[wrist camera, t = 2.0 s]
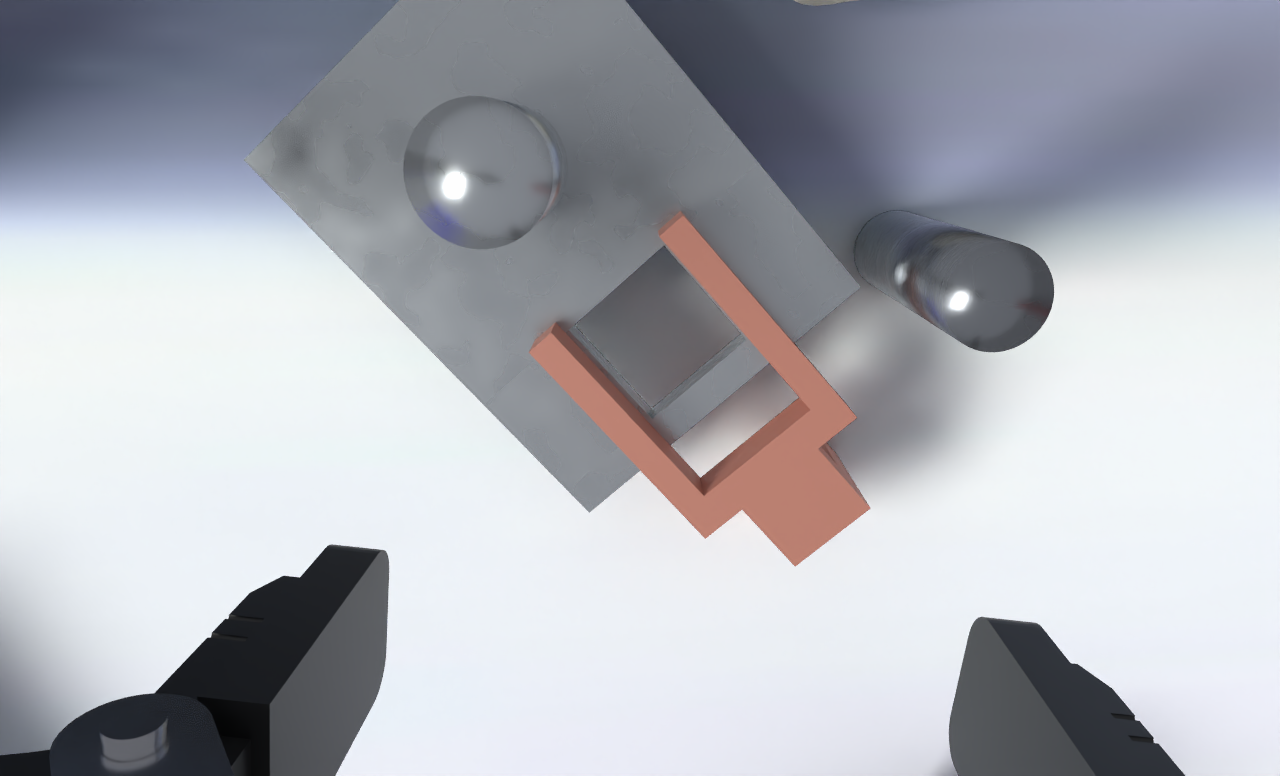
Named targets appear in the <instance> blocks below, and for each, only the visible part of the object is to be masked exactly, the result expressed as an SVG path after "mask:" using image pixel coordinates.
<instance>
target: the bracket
mask: <svg viewBox="0 0 1280 776" xmlns="http://www.w3.org/2000/svg"><path fill="white" fill-rule="evenodd" d="M658 234H659V237H660V238H661V239H662V240H663V242H664V243H665V244H666V245H667V246H668V247H669V248H670V250H671V251H672V252H673V253H674V254H675V255H676V256H677V258H678V259H679V260H680V261H681V262H682V263H683V264H684V266H685V267H686V268H687V269H688V270H689V271H690V272H691V274H692V275H693V276H694V277H695V278H696V279H697V281H698V282H699V283H700V284H701V285H702V286H703V287H704V289H705V290H706V291H707V292H708V293H709V294H710V295H711V297H712V298H713V299H714V300H715V301H716V302H717V303H718V305H719V306H720V307H721V308H722V309H723V310H724V311H725V313H726V314H727V315H728V316H729V317H730V318H731V319H732V321H733V322H734V323H735V324H736V325H737V326H738V328H739V329H740V330H741V331H742V332H743V333H744V334H745V336H746V337H747V338H748V339H749V340H750V341H751V342H752V344H753V345H754V346H755V347H756V348H757V349H758V350H759V352H760V353H761V354H762V355H763V356H764V357H765V358H766V360H767V361H768V362H769V363H770V364H771V365H772V366H773V368H774V369H775V370H776V371H777V372H778V373H779V374H780V376H781V377H782V378H783V379H784V380H785V381H786V383H787V384H788V385H789V386H790V387H791V388H792V389H793V391H794V392H795V393H796V394H797V395H798V396H799V398H798V399H797V400H796V401H794V402H793V403H792V404H791V405H789V406H788V407H787V408H786V409H785V410H783V411H782V412H781V413H780V414H778V415H777V416H776V417H775V418H773V419H772V420H771V421H770V422H769V423H767V424H766V425H765V426H764V427H762V428H761V429H760V430H759V431H757V432H756V433H755V434H754V435H753V436H751V437H750V438H749V439H748V440H746V441H745V442H744V443H743V444H742V445H740V446H739V447H738V448H737V449H735V450H734V451H733V452H732V453H730V454H729V455H728V456H727V457H726V458H724V459H723V460H722V461H721V462H719V463H718V464H717V465H716V466H714V467H713V468H712V469H711V470H710V471H708V472H707V473H706V474H705V475H703V476H702V477H701V478H700V477H699V476H698V475H697V474H696V473H695V471H694V470H693V469H692V468H691V467H690V466H689V465H688V464H687V463H686V462H685V461H684V460H683V459H682V458H681V456H680V455H679V454H678V453H677V452H676V451H675V450H674V449H673V448H672V447H671V446H670V445H669V444H668V442H667V441H666V440H665V439H664V438H663V437H662V436H661V435H660V434H659V433H658V432H657V431H656V430H655V428H654V427H653V426H652V425H651V424H650V423H649V422H648V421H647V420H646V419H645V418H644V417H643V416H642V415H641V413H640V412H639V411H638V410H637V409H636V408H635V407H634V406H633V405H632V404H631V403H630V402H629V401H628V399H627V398H626V397H625V396H624V395H623V394H622V393H621V392H620V391H619V390H618V389H617V388H616V387H615V386H614V384H613V383H612V382H611V381H610V380H609V379H608V378H607V377H606V376H605V375H604V374H603V373H602V372H601V370H600V369H599V368H598V367H597V366H596V365H595V364H594V363H593V362H592V361H591V360H590V359H589V358H588V356H587V355H586V354H585V353H584V352H583V351H582V350H581V349H580V348H579V347H578V346H577V345H576V344H575V343H574V341H573V340H572V339H571V338H570V337H569V336H568V335H567V334H566V333H565V332H564V331H563V330H562V329H561V327H560V326H559V325H558V324H557V323H556V322H555V323H554V324H553V325H552V326H551V327H549V328H548V329H547V330H546V331H545V332H544V333H543V334H542V335H540V336H539V337H538V338H537V339H536V340H535V341H534V343H533V345H532V347H531V349H530V351H529V353H530V354H531V356H532V357H533V358H534V359H535V360H536V361H537V362H538V363H539V364H540V365H541V366H542V367H543V368H544V369H545V370H546V371H547V372H548V373H549V374H550V376H551V377H552V378H553V379H554V380H555V381H556V382H557V383H558V384H559V385H560V386H561V387H562V388H563V389H564V390H565V391H566V392H567V393H568V395H569V396H570V397H571V398H572V399H573V400H574V401H575V402H576V403H577V404H578V405H579V406H580V407H581V408H582V409H583V410H584V411H585V412H586V413H587V415H588V416H589V417H590V418H591V419H592V420H593V421H594V422H595V423H596V424H597V425H598V426H599V427H600V428H601V429H602V430H603V431H604V432H605V434H606V435H607V436H608V437H609V438H610V439H611V440H612V441H613V442H614V443H615V444H616V445H617V446H618V447H619V448H620V449H621V450H622V451H623V452H624V454H625V455H626V456H627V457H628V458H629V459H630V460H631V461H632V462H633V463H634V464H635V465H636V466H637V467H638V468H639V469H640V470H641V471H642V473H643V474H644V475H645V476H646V477H647V478H648V479H649V480H650V481H651V482H652V483H653V484H654V485H655V486H656V487H657V488H658V489H659V490H660V491H661V493H662V494H663V495H664V496H665V497H666V498H667V499H668V500H669V501H670V502H671V503H672V504H673V505H674V506H675V507H676V508H677V509H678V510H679V512H680V513H681V514H682V515H683V516H684V517H685V518H686V519H687V520H688V521H689V522H690V523H691V524H692V525H693V526H694V527H695V528H696V529H697V530H698V532H699V533H700V534H701V535H702V536H703V537H704V538H705V539H706V538H707V537H708V536H709V535H711V534H712V533H713V532H714V531H716V530H717V529H718V528H719V527H721V526H722V525H723V524H724V523H726V522H727V521H728V520H729V519H731V518H732V517H733V516H734V515H736V514H737V513H738V512H739V511H741V510H743V511H744V512H745V513H746V514H747V515H748V516H749V517H750V518H751V519H752V521H753V522H754V523H755V524H756V525H757V526H758V527H759V528H760V529H761V530H762V531H763V532H764V534H765V535H766V536H767V537H768V538H769V539H770V540H771V541H772V542H773V543H774V544H775V545H776V546H777V548H778V549H779V550H780V551H781V552H782V553H783V554H784V555H785V556H786V557H787V558H788V559H789V560H790V562H791V563H792V564H793V565H794V566H796V565H798V564H799V563H800V562H802V561H803V560H804V559H805V558H807V557H808V556H809V555H811V554H812V553H813V552H815V551H816V550H817V549H818V548H820V547H821V546H822V545H824V544H825V543H826V542H828V541H829V540H830V539H831V538H833V537H834V536H835V535H837V534H838V533H839V532H840V531H842V530H843V529H844V528H846V527H847V526H848V525H850V524H851V523H852V522H853V521H855V520H856V519H857V518H859V517H860V516H861V515H863V514H864V513H865V512H866V511H868V510H869V509H870V507H869V505H868V504H867V502H866V500H865V499H864V497H863V496H862V494H861V492H860V491H859V489H858V488H857V486H856V484H855V483H854V481H853V480H852V478H851V476H850V475H849V473H848V472H847V470H846V468H845V467H844V465H843V464H842V462H841V460H840V459H839V457H838V456H837V454H836V453H835V452H834V451H833V449H832V448H831V447H830V446H829V445H828V444H827V443H826V442H827V441H829V440H830V439H831V438H832V437H834V436H835V435H836V434H837V433H839V432H840V431H841V430H842V429H844V428H845V427H846V426H847V425H849V424H850V423H851V422H852V421H854V420H855V419H856V418H857V417H856V416H855V414H854V413H853V412H852V410H851V409H850V408H849V407H848V405H847V404H846V403H845V402H844V400H843V399H842V398H841V397H840V396H839V395H838V393H837V392H836V391H835V390H834V389H833V388H832V386H831V385H830V384H829V383H828V382H827V381H826V379H825V378H824V377H823V376H822V375H821V374H820V373H819V371H818V370H817V369H816V368H815V367H814V366H813V364H812V363H811V362H810V361H809V360H808V359H807V357H806V356H805V355H804V354H803V353H802V352H801V350H800V349H799V348H798V347H797V346H796V345H795V343H794V342H793V341H792V340H791V339H790V338H789V336H788V335H787V334H786V333H785V332H784V331H783V329H782V328H781V327H780V326H779V325H778V324H777V322H776V321H775V320H774V319H773V318H772V317H771V315H770V314H769V313H768V312H767V311H766V310H765V308H764V307H763V306H762V305H761V304H760V303H759V301H758V300H757V299H756V298H755V297H754V296H753V294H752V293H751V292H750V291H749V290H748V289H747V287H746V286H745V285H744V284H743V283H742V282H741V281H740V279H739V278H738V277H737V276H736V275H735V274H734V272H733V271H732V270H731V269H730V268H729V267H728V265H727V264H726V263H725V262H724V261H723V260H722V258H721V257H720V256H719V255H718V254H717V253H716V251H715V250H714V249H713V248H712V247H711V246H710V244H709V243H708V242H707V241H706V240H705V239H704V237H703V236H702V235H701V234H700V233H699V232H698V230H697V229H696V228H695V227H694V226H693V225H692V223H691V222H690V221H689V220H688V219H687V218H686V216H685V215H684V214H683V213H682V212H681V211H680V212H679V213H677V214H676V215H675V216H674V217H673V218H672V219H671V220H670V221H668V222H667V223H666V224H665V225H664V226H663V227H662V228H661V229H660V230H658Z"/></svg>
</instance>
